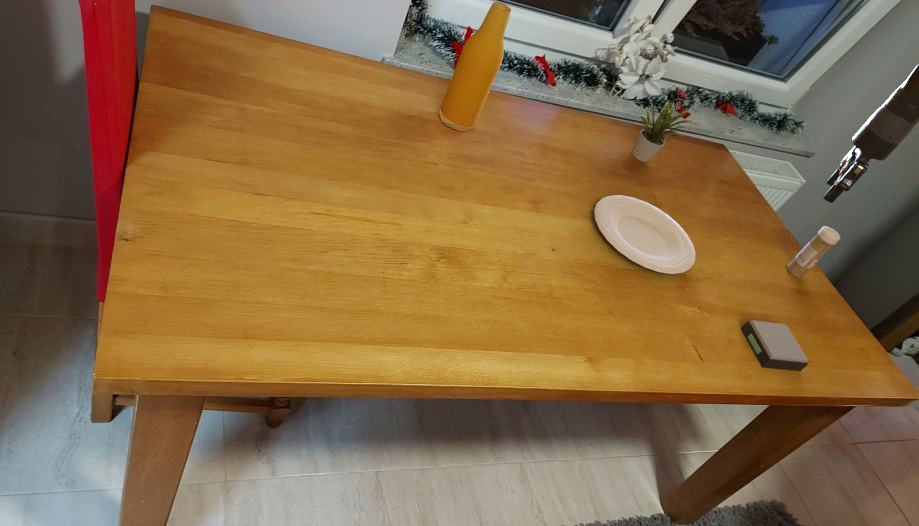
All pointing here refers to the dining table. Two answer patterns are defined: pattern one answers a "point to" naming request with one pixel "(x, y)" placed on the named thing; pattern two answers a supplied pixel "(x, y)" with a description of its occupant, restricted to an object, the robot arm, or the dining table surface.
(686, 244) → the plate
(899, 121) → the robot arm
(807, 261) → the sprinkles bottle
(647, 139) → the house plant
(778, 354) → the scale
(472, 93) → the beer bottle
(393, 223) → the dining table surface
